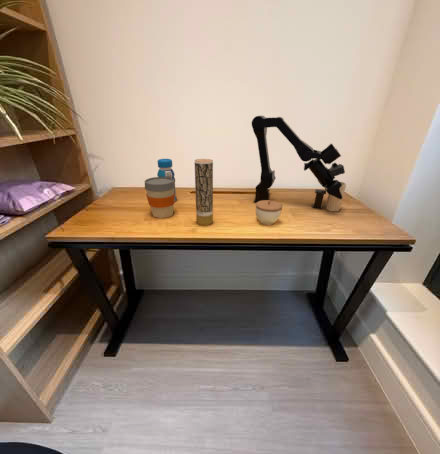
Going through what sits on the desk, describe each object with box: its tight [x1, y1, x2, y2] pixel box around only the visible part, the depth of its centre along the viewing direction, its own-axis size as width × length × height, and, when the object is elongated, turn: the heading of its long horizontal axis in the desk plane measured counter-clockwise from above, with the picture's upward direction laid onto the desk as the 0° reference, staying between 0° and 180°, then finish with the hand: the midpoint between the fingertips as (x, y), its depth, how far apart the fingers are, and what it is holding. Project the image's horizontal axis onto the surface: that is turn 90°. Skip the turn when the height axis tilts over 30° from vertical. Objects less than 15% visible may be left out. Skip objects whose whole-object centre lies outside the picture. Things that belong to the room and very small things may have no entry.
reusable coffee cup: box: [144, 176, 176, 219], centre depth 109 cm, size 13×13×15 cm
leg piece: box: [312, 188, 327, 210], centre depth 121 cm, size 5×5×8 cm
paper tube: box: [194, 158, 214, 226], centre depth 99 cm, size 7×7×25 cm
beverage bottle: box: [156, 158, 177, 203], centre depth 123 cm, size 8×8×20 cm
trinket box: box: [255, 199, 283, 226], centre depth 104 cm, size 11×11×9 cm
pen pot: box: [325, 181, 347, 212], centre depth 118 cm, size 6×6×12 cm
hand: (338, 195), depth 117 cm, fingers open, 8 cm apart
